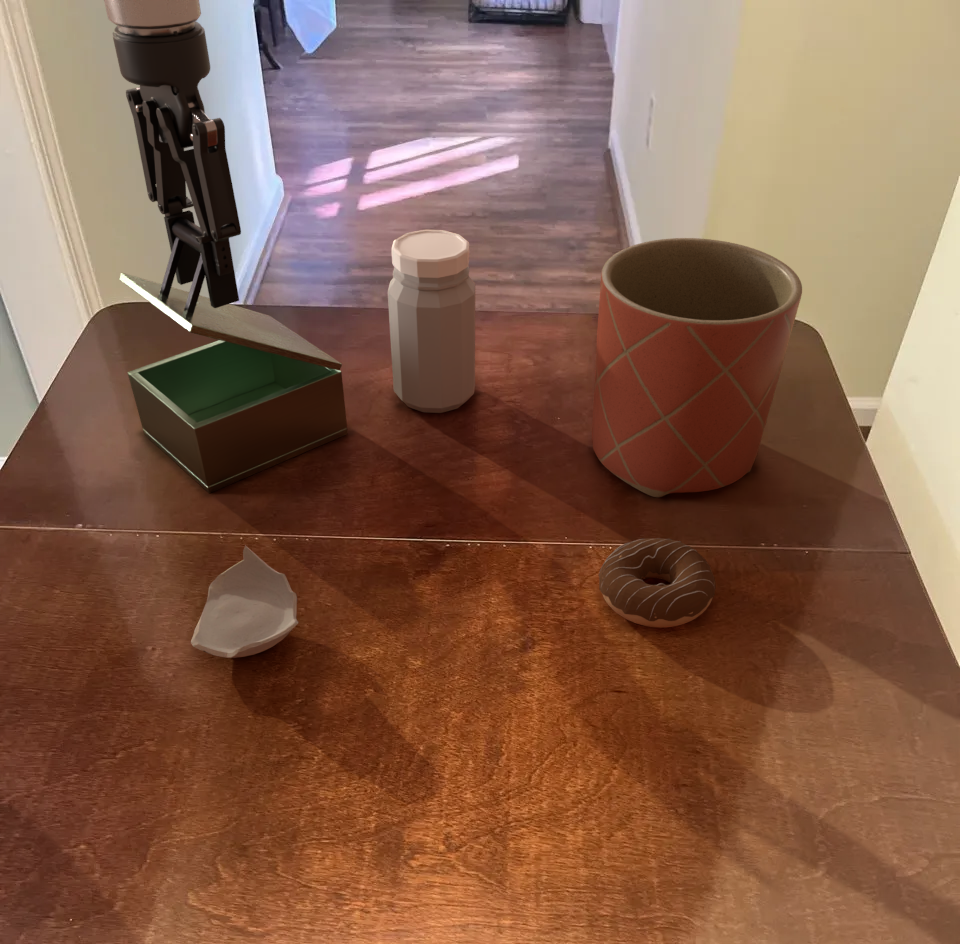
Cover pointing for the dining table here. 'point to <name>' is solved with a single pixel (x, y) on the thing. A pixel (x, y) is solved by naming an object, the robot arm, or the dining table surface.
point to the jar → (432, 320)
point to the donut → (658, 602)
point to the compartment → (236, 410)
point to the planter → (688, 361)
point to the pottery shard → (246, 610)
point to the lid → (220, 310)
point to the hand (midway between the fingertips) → (207, 290)
